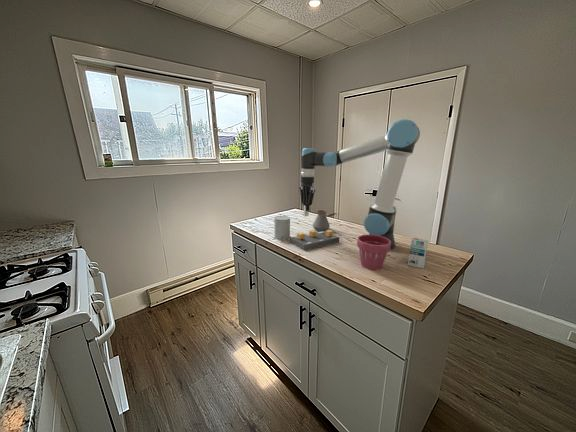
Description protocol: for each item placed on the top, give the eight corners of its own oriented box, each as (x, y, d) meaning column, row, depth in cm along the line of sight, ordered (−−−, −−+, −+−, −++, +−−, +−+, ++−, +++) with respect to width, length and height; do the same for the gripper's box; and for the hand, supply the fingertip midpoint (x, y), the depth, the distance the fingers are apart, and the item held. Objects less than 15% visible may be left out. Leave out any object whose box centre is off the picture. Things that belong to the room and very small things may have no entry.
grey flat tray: (339, 242, 138) (339, 236, 137) (304, 250, 125) (304, 244, 124) (323, 235, 149) (323, 230, 148) (290, 242, 137) (290, 237, 136)
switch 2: (316, 236, 137) (316, 231, 137) (312, 236, 136) (312, 232, 135) (313, 234, 140) (313, 229, 139) (309, 235, 138) (309, 230, 138)
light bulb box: (423, 269, 106) (427, 246, 103) (407, 265, 109) (410, 243, 107) (425, 260, 115) (428, 239, 112) (409, 257, 118) (412, 237, 115)
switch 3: (332, 235, 138) (333, 231, 137) (328, 236, 137) (329, 231, 136) (329, 234, 141) (329, 229, 140) (325, 235, 139) (325, 230, 138)
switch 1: (304, 238, 133) (304, 233, 132) (300, 239, 132) (300, 234, 131) (301, 236, 136) (301, 232, 135) (297, 237, 134) (297, 232, 133)
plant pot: (348, 262, 111) (350, 237, 108) (369, 256, 118) (372, 232, 115) (372, 275, 99) (376, 247, 96) (394, 268, 106) (398, 241, 103)
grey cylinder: (271, 238, 142) (271, 218, 139) (278, 233, 151) (278, 215, 148) (286, 240, 139) (286, 220, 136) (292, 235, 148) (292, 216, 145)
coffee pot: (309, 228, 163) (310, 207, 159) (323, 226, 168) (324, 205, 164) (327, 238, 144) (328, 214, 141) (342, 235, 149) (344, 212, 146)
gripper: (295, 175, 139) (294, 214, 145) (309, 177, 128) (307, 219, 134) (306, 175, 143) (304, 212, 149) (319, 177, 132) (317, 217, 138)
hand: (305, 215), depth 141 cm, fingers closed
